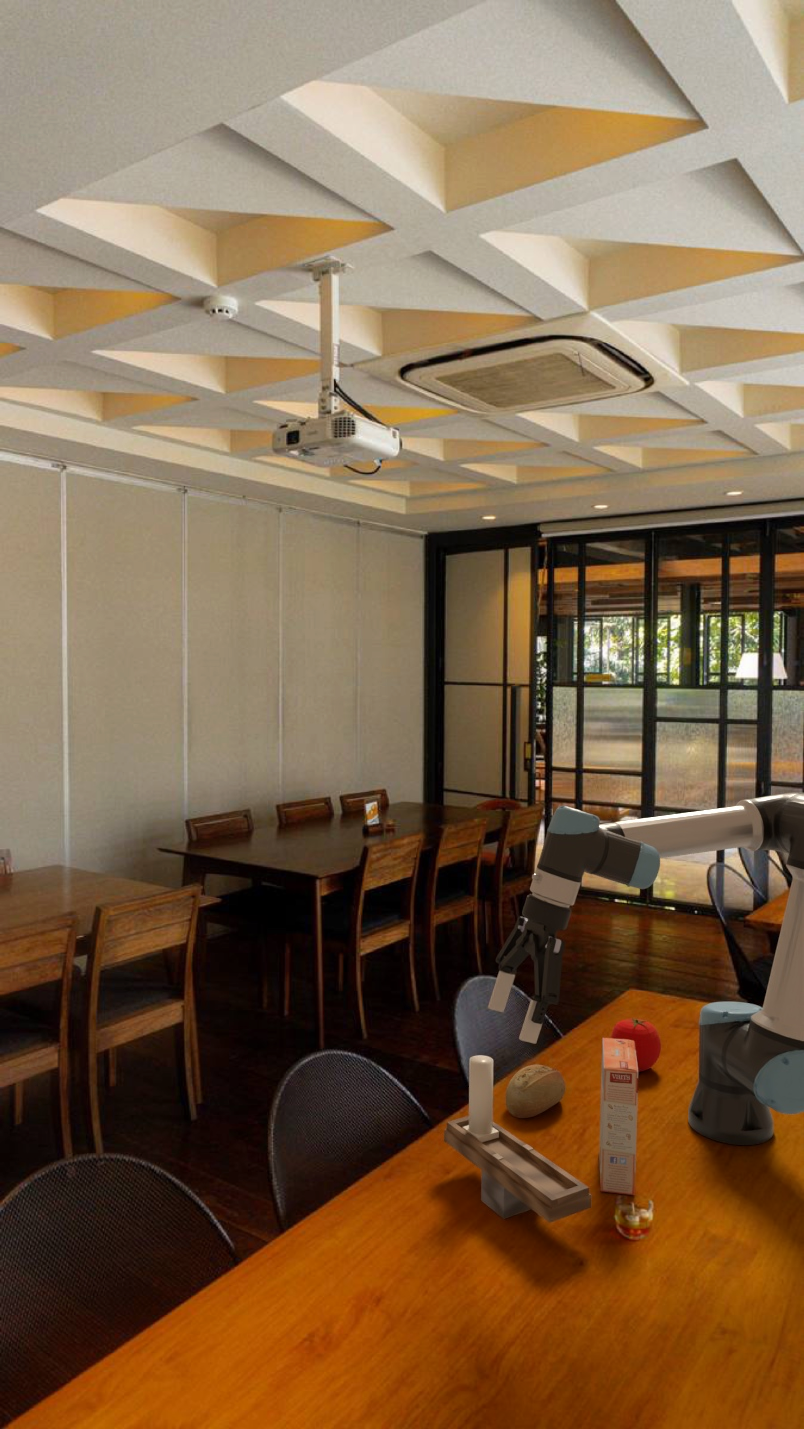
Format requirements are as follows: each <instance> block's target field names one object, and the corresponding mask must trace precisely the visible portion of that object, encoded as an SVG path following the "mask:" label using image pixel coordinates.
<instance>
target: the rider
mask: <svg viewBox="0 0 804 1429" xmlns="http://www.w3.org/2000/svg"><path fill="white" fill-rule="evenodd" d="M468 1067H469V1069H468V1070H469V1072H468V1073H469V1074H468V1076H469V1080H468V1086H469V1087H468V1116H469V1125H467V1126H464V1127H462V1128H463V1129H464V1130H465V1131H467V1132H468V1133H469V1134H471V1135H472V1136H473V1137H475V1138H476V1139H477V1140H479V1141H480V1142H485V1141H488V1140H492V1139H495V1138H499V1131H498V1130H496V1129H495V1128H493V1122H494V1117H493V1116H494V1109H493V1108H494V1059H493V1058H492V1057H491V1056H488V1055H479V1054H478V1055H473V1056H471V1057H470V1058H469V1065H468Z"/></svg>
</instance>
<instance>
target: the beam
mask: <svg viewBox="0 0 804 1429" xmlns="http://www.w3.org/2000/svg"><path fill="white" fill-rule="evenodd" d="M467 1125H469V1115H467V1116H463V1117H459V1118H457V1119H453V1120H449V1121H446V1128H444V1129H443V1130H444V1131H443V1132H444V1133H443V1136H444V1138H443V1140H444V1141H443V1142H445V1144H447V1145H448V1146H450V1147H451V1148H452V1149H454V1150H455V1151H456V1152H458V1153H459V1154H460V1155H461V1156H463V1157H464V1158H465V1159H467V1160H468V1161H469V1162H471V1163H472V1164H473V1165H474V1166H475V1167H477V1168H478V1169H480V1170H481V1177H480V1178H481V1181H480V1183H481V1185H480V1186H481V1188H480V1189H481V1190H480V1191H481V1192H480V1196H481V1198H480V1200H481V1202H482V1203H483V1204H485V1205H486V1206H487V1207H489V1208H490V1209H491V1210H492V1211H493V1212H495V1214H497V1215H498V1216H500V1217H501V1218H502V1219H503V1220H505V1219H509V1218H510V1217H513V1216H515V1215H519V1214H521V1213H525V1212H527V1211H530V1210H532V1211H533V1212H535V1213H536V1214H537V1215H538V1216H540V1217H541V1218H543V1220H545V1221H546V1222H547V1223H549V1224H550V1223H552V1222H556V1221H558V1220H561V1219H564V1218H567V1217H569V1216H572V1215H575V1214H578V1213H580V1212H583V1211H586V1210H588V1209H591V1208H592V1194H591V1193H590V1187H589V1186H588V1185H586V1184H585V1183H583V1182H582V1181H580V1180H579V1179H577V1178H576V1177H574V1176H573V1175H571V1174H570V1173H569V1172H567V1171H566V1170H565V1169H563V1168H561V1167H560V1166H558V1165H557V1164H555V1163H554V1162H553V1161H551V1160H550V1159H548V1158H547V1157H545V1156H544V1155H542V1153H539V1152H538V1151H537V1150H535V1149H534V1148H533V1147H532V1146H531V1145H529V1144H528V1143H525V1142H524V1141H522V1140H521V1139H519V1138H518V1137H516V1136H515V1135H514V1134H512V1132H510V1131H508V1130H506V1129H505V1128H503V1127H502V1126H501V1125H499V1124H498V1123H496V1122H495V1121H493V1128H495V1129H496V1130H498V1131H499V1138H495V1139H492V1140H488V1141H485V1142H480V1141H479V1140H477V1139H476V1138H475V1137H473V1136H472V1135H471V1134H469V1133H468V1132H467V1131H465V1130H464V1129H463V1128H462V1127H464V1126H467Z"/></svg>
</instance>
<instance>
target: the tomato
mask: <svg viewBox="0 0 804 1429" xmlns="http://www.w3.org/2000/svg"><path fill="white" fill-rule="evenodd" d="M610 1038H613V1039H628V1040H633V1041H635V1049H636V1058H637V1065H638V1073H640V1072H644V1071H647V1070H649V1069H650V1068H652V1067H653V1066H654V1065H655V1064H656V1063H657V1061H658V1059H659V1058H660V1054H661V1052H662V1050H661V1049H662V1042H661V1037H660V1035H659V1033H658V1029H657V1028H656V1027H655V1026H654V1025H653V1024H652V1023H650V1022H649V1021H648V1020H645V1019H639V1018H633V1017H631V1018H628V1019H623V1020H619V1021H617V1023H616V1024H615V1025H614V1026H613V1029H612V1032H611V1036H610Z"/></svg>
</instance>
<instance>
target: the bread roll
mask: <svg viewBox="0 0 804 1429" xmlns="http://www.w3.org/2000/svg"><path fill="white" fill-rule="evenodd" d="M565 1092H566V1082H565V1080H564V1077H563V1075H562V1073H561V1072H560V1071H559V1070H558V1069H556V1068H552V1067H551V1066H547V1065H542V1064H537V1063H536V1064H530V1065H527V1066H524V1067H522V1068H521V1069H519V1070H518V1071H517V1072H516V1073H515V1074H514V1075H513V1077H511V1079H510V1081H509V1082H508V1084H507V1087H506V1090H505V1107H506V1109H507V1110H508V1112H509V1114H510V1115H512V1116H513V1117H516V1118H518V1119H526V1118H527V1119H528V1118H532V1117H535V1116H537V1115H539V1114H541V1113H543V1112H545V1111H547V1110H549V1109H551V1108H552V1107H553V1106H555V1105H556V1104H558V1103H559V1102H561V1101H562V1100H563V1097H564V1095H565Z"/></svg>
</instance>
